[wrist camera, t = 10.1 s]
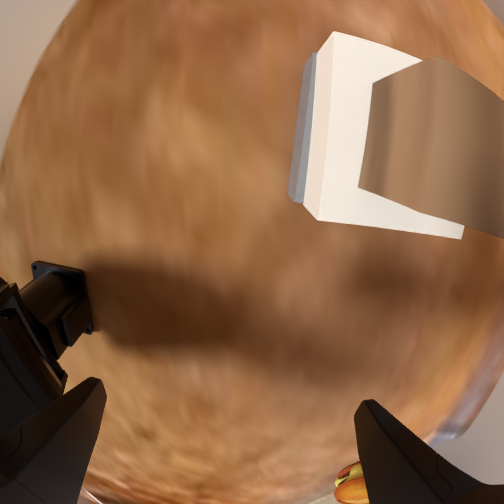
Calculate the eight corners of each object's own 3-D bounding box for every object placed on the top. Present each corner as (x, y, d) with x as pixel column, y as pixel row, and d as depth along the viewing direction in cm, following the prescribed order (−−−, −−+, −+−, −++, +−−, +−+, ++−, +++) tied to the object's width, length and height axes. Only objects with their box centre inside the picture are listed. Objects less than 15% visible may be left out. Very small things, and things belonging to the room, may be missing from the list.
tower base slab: (286, 192, 18) (294, 202, 15) (302, 68, 15) (313, 51, 12) (399, 212, 19) (423, 225, 16) (415, 101, 16) (441, 96, 12)
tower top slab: (303, 204, 15) (317, 220, 12) (316, 53, 12) (333, 31, 9) (429, 222, 16) (461, 239, 12) (443, 94, 12) (477, 89, 9)
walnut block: (357, 187, 11) (420, 212, 7) (372, 83, 10) (437, 54, 5) (439, 209, 12) (506, 239, 7) (452, 118, 10) (523, 118, 5)
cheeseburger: (354, 481, 36) (355, 520, 27) (320, 465, 36) (318, 509, 27) (398, 459, 33) (406, 499, 24) (368, 440, 33) (374, 487, 24)
